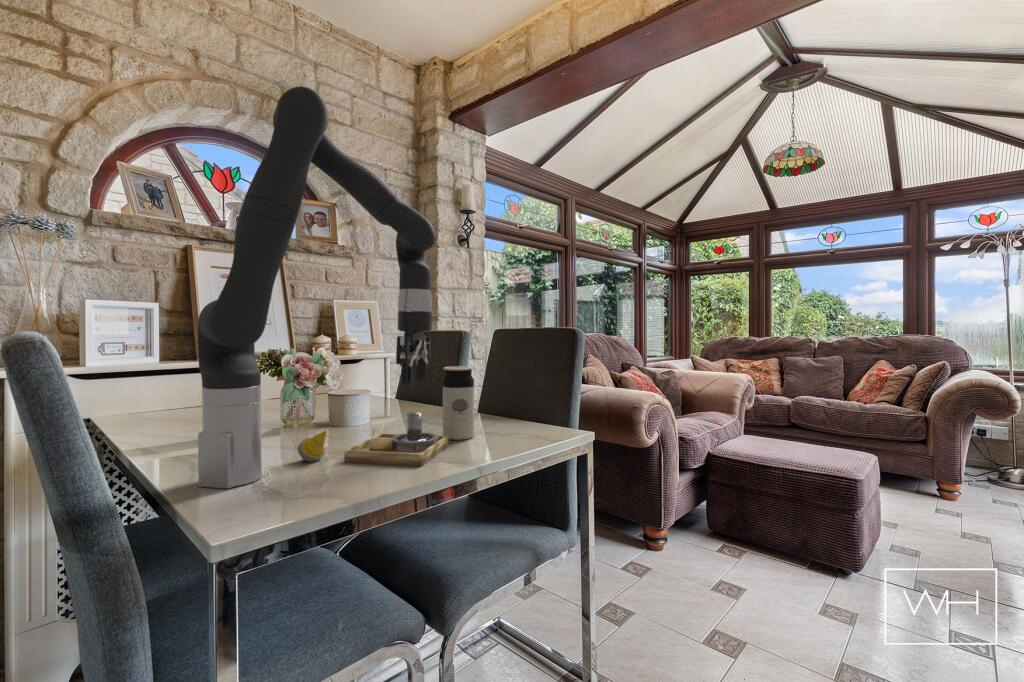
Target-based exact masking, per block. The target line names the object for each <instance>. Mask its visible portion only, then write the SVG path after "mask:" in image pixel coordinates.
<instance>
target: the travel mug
mask: <svg viewBox="0 0 1024 682" xmlns="http://www.w3.org/2000/svg"><path fill="white" fill-rule="evenodd" d="M473 369H474V368H473V366H465V365H462V366H458V365H457V366H456V365H455V366H454V365H453V366H445V367H443V370H444V373H445V374H444V375H445V376H444V377H443V379H442V436H448V441H449V440H450V441H464V440H465V441H466V440H469V439H471V438H474V436H475V378H474V377H473V375H472V371H473Z"/></svg>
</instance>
